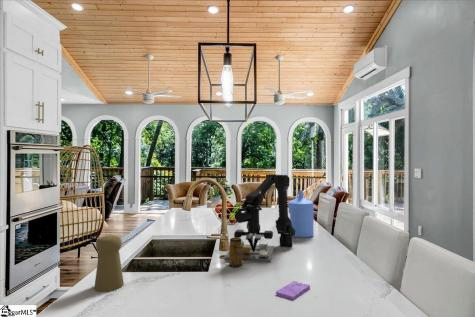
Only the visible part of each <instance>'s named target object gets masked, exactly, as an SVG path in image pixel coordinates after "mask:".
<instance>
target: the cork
mask: <svg viewBox="0 0 475 317" xmlns="http://www.w3.org/2000/svg"><path fill="white" fill-rule="evenodd" d="M95 247H96V248H95V249H96V251H97V252H98V255H97V264H96V272H95V278H94V288H93V290H94V291H95V292H98V293H107V292H108V293H109V292H114V290H115V291H117V289H118V290H120V289H122V288H123V287H124V283H125V282H124V276H123V275H124V274H123V269H122V262H121V256H120V250H121V248H122V239H121V237H120V236H118V235H111V234H110V235H104V236H101V237H99V238H98V239H97V240H96V244H95ZM122 286H123V287H122ZM119 288H120V289H119Z"/></svg>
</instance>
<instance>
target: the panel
mask: <svg viewBox="0 0 475 317" xmlns="http://www.w3.org/2000/svg"><path fill="white" fill-rule="evenodd" d="M243 246H250V244H245V241H243V242H242V247H243ZM275 246H276V245H268V249H267V251H268V255H265V257H262V255H259V251H260V250H259V244H258V245H256V248H255V251H254V252H253V251H252V248H251V253H250V254H248V253H242V262H252V263H253V262H254V263H256V262H257V263H271V261H272V260H273V259H272V258H273V255H274V252H275V248H276V247H275ZM224 260H225V261H229V251H228V252H227V253H226V255H224Z"/></svg>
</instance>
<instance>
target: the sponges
mask: <svg viewBox="0 0 475 317" xmlns="http://www.w3.org/2000/svg"><path fill="white" fill-rule="evenodd" d="M310 286H311V285H310V284H307V283H303V282H298V281H297V280H292V281H291V282H289V283H288V284H286V285H284V286H283V287H281V288H279V289H276V291H275V294H276V295H277V296H278V297H282V298H285V299H287V300H288V299H289V300H291V301H294V300H296V299H297V298H299V296H301V295H303V294H305V293H306V292H307V291H309V290H310V289H311V287H310Z"/></svg>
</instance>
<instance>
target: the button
mask: <svg viewBox="0 0 475 317" xmlns="http://www.w3.org/2000/svg"><path fill="white" fill-rule="evenodd" d="M259 255H262V257H265V255H268V251H267V250H260V251H259Z"/></svg>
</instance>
